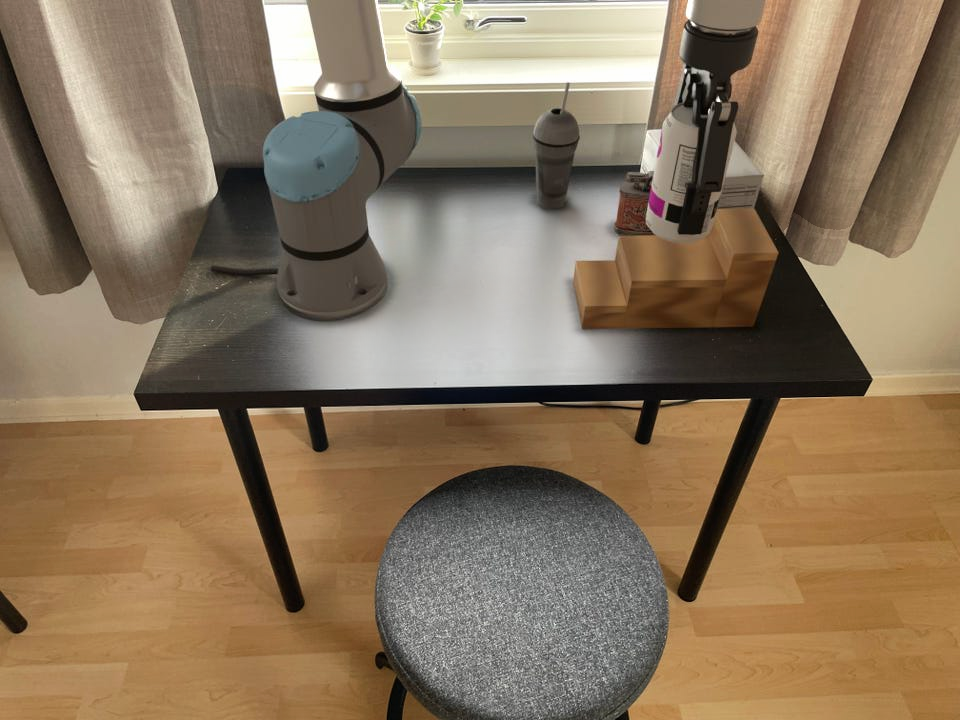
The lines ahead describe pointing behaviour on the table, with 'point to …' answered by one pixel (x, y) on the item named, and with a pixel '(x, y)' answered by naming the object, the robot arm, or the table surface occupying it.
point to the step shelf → (680, 278)
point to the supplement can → (678, 177)
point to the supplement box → (738, 180)
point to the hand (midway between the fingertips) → (680, 212)
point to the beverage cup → (554, 154)
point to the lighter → (634, 205)
